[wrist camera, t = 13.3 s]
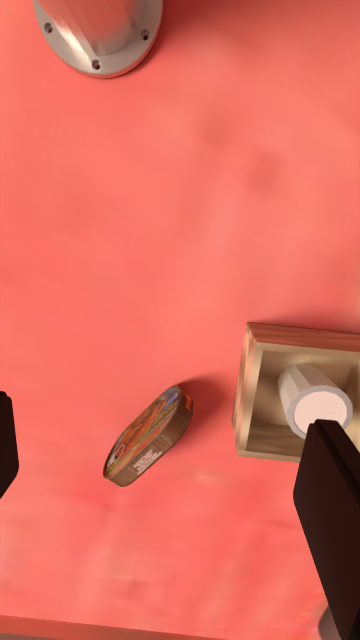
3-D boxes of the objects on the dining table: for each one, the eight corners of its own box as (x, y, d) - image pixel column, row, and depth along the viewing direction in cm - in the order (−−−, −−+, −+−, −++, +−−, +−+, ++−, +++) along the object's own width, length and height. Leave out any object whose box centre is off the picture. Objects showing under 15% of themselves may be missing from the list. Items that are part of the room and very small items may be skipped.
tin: (180, 375, 42) (176, 410, 34) (198, 389, 42) (197, 428, 34) (110, 442, 46) (91, 488, 38) (127, 455, 46) (112, 503, 38)
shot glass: (262, 393, 41) (275, 426, 34) (289, 349, 39) (308, 375, 32) (309, 414, 41) (330, 451, 34) (338, 371, 39) (366, 402, 33)
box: (246, 322, 39) (256, 342, 32) (362, 333, 39) (396, 356, 32) (231, 420, 43) (237, 456, 37) (335, 431, 43) (361, 469, 36)
